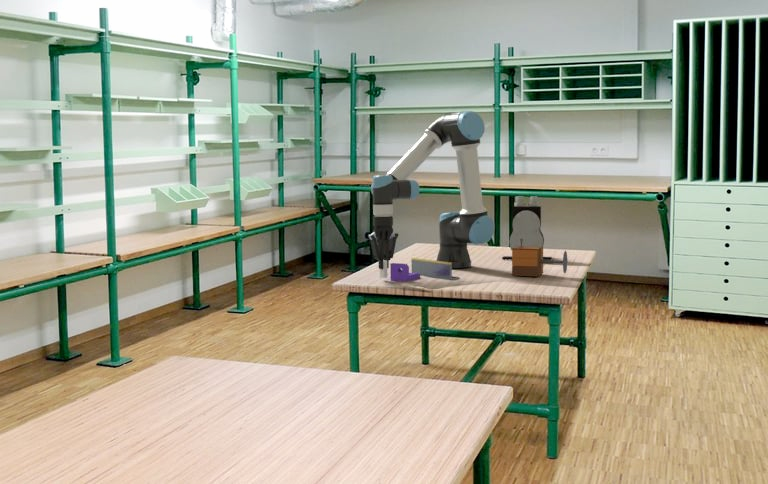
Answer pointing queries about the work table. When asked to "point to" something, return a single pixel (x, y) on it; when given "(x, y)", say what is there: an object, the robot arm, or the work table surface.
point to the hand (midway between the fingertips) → (383, 277)
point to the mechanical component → (526, 224)
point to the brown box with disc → (531, 260)
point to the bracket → (402, 272)
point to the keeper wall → (433, 268)
